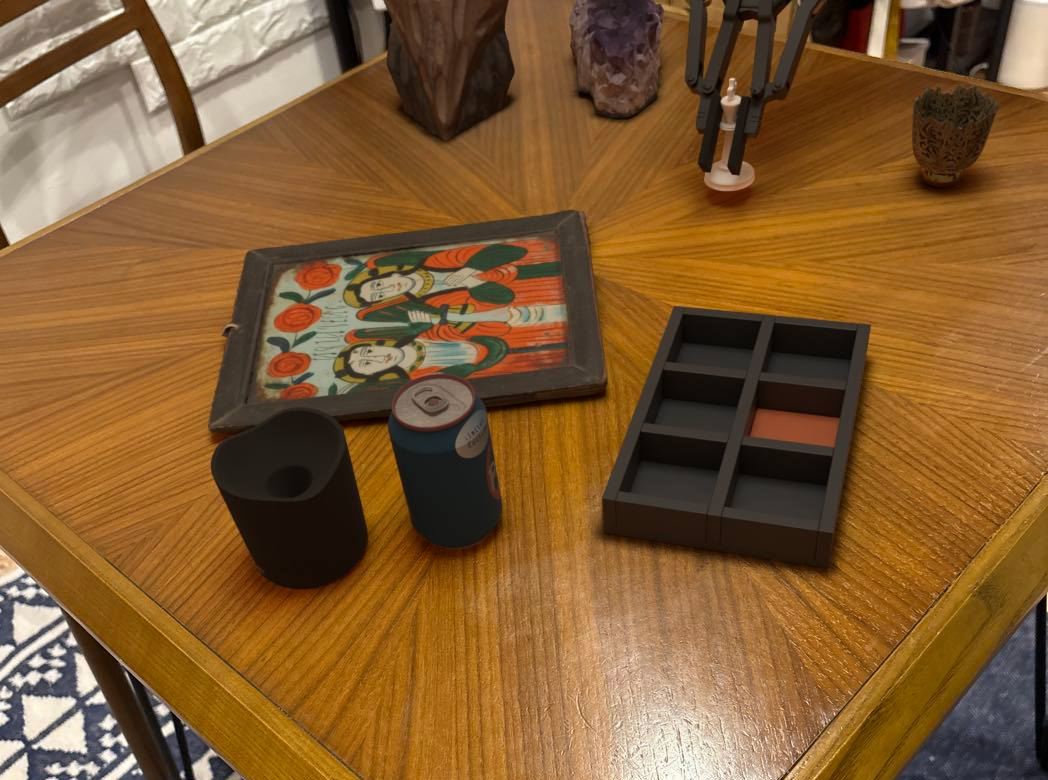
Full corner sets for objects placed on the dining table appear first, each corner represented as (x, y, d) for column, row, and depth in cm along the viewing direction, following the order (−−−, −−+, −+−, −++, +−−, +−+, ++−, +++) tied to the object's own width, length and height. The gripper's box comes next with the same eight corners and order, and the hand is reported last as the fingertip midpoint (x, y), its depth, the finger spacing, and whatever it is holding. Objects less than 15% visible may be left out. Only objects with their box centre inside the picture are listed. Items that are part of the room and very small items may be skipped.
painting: (622, 402, 92) (621, 379, 90) (209, 454, 93) (200, 433, 91) (584, 218, 110) (583, 196, 108) (241, 264, 112) (234, 243, 110)
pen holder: (268, 505, 87) (231, 408, 80) (384, 504, 86) (357, 405, 78) (237, 596, 81) (193, 500, 73) (361, 597, 79) (329, 499, 72)
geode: (687, 112, 123) (675, 25, 116) (585, 138, 125) (567, 53, 118) (663, 31, 137) (651, -52, 129) (572, 55, 139) (555, -26, 131)
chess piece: (697, 188, 109) (698, 89, 101) (713, 163, 112) (714, 65, 104) (746, 194, 107) (750, 93, 100) (761, 169, 110) (766, 69, 102)
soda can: (522, 525, 82) (503, 401, 74) (445, 570, 80) (417, 448, 71) (471, 477, 87) (447, 354, 78) (396, 519, 84) (363, 398, 76)
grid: (865, 359, 91) (871, 323, 88) (828, 568, 76) (833, 533, 74) (674, 339, 95) (674, 305, 93) (604, 533, 81) (601, 498, 78)
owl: (390, 106, 133) (355, -74, 118) (479, 71, 136) (456, -107, 122) (441, 143, 125) (410, -45, 110) (535, 105, 129) (516, -81, 114)
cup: (977, 160, 110) (994, 82, 104) (986, 200, 105) (1004, 119, 99) (899, 162, 111) (911, 84, 105) (903, 200, 106) (916, 121, 100)
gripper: (857, -63, 103) (803, 189, 105) (700, -66, 109) (651, 173, 111) (852, -106, 96) (794, 164, 98) (684, -107, 102) (632, 150, 104)
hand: (718, 169), depth 105 cm, fingers closed on chess piece, 2 cm apart
